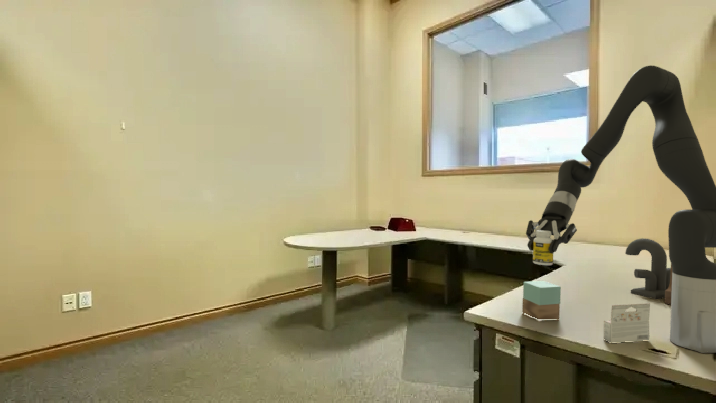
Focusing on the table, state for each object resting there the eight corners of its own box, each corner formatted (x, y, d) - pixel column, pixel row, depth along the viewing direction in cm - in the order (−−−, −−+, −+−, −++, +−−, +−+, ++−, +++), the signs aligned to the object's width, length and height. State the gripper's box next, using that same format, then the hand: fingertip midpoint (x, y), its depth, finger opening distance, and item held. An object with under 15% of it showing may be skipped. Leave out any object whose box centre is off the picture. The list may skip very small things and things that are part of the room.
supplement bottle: (532, 264, 109) (532, 231, 108) (533, 261, 113) (533, 229, 113) (553, 266, 106) (553, 232, 106) (553, 263, 111) (553, 230, 110)
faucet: (640, 284, 150) (641, 235, 150) (686, 294, 135) (688, 240, 135) (609, 288, 144) (611, 237, 143) (654, 299, 129) (656, 242, 128)
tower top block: (560, 303, 107) (560, 286, 106) (539, 305, 105) (540, 287, 105) (542, 296, 113) (543, 280, 113) (523, 298, 112) (523, 281, 112)
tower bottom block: (559, 320, 107) (559, 303, 107) (538, 322, 105) (539, 305, 105) (541, 312, 114) (542, 296, 114) (522, 314, 112) (522, 298, 112)
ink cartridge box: (602, 340, 93) (603, 302, 92) (640, 338, 94) (642, 300, 94) (610, 344, 90) (611, 305, 90) (649, 342, 92) (651, 303, 92)
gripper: (533, 199, 119) (512, 239, 112) (581, 201, 108) (561, 245, 101) (540, 215, 123) (521, 255, 116) (588, 218, 111) (569, 262, 104)
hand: (540, 250), depth 108 cm, fingers closed on supplement bottle, 5 cm apart
